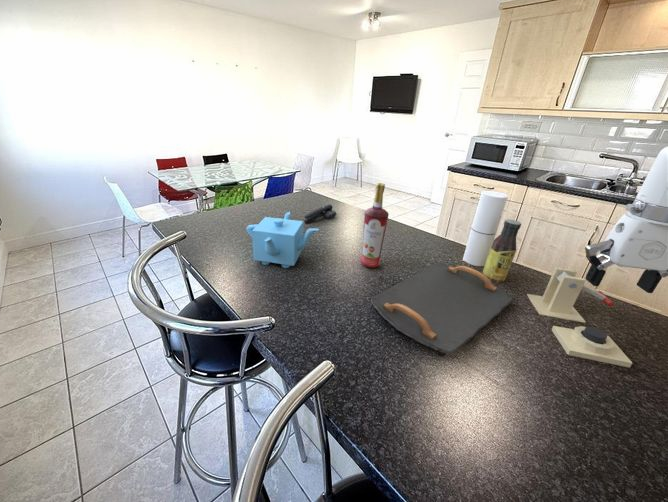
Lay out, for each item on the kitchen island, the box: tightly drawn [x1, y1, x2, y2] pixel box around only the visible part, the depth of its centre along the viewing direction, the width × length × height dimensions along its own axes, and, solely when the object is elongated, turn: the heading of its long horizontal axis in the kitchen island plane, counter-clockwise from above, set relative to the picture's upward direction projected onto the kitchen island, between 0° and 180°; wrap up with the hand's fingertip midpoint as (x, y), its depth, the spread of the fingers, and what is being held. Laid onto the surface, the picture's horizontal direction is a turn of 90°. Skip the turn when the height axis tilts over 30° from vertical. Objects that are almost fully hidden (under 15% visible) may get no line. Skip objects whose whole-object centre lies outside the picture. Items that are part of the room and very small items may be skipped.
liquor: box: [359, 182, 390, 269], centre depth 94 cm, size 7×7×28 cm
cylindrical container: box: [462, 190, 509, 267], centre depth 97 cm, size 7×7×25 cm
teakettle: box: [246, 211, 320, 269], centre depth 99 cm, size 19×19×15 cm
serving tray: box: [370, 263, 514, 358], centre depth 79 cm, size 39×23×6 cm, turn 126°
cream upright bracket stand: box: [526, 267, 587, 324], centre depth 77 cm, size 10×9×12 cm
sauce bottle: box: [482, 218, 522, 284], centre depth 89 cm, size 6×6×20 cm
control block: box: [551, 325, 633, 368], centre depth 66 cm, size 11×8×4 cm
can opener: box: [303, 204, 337, 224], centre depth 134 cm, size 18×7×6 cm, turn 129°
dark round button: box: [582, 326, 608, 344], centre depth 65 cm, size 4×4×2 cm
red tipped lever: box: [557, 272, 615, 307], centre depth 75 cm, size 12×5×2 cm, turn 74°
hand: (617, 286), depth 63 cm, fingers open, 9 cm apart
